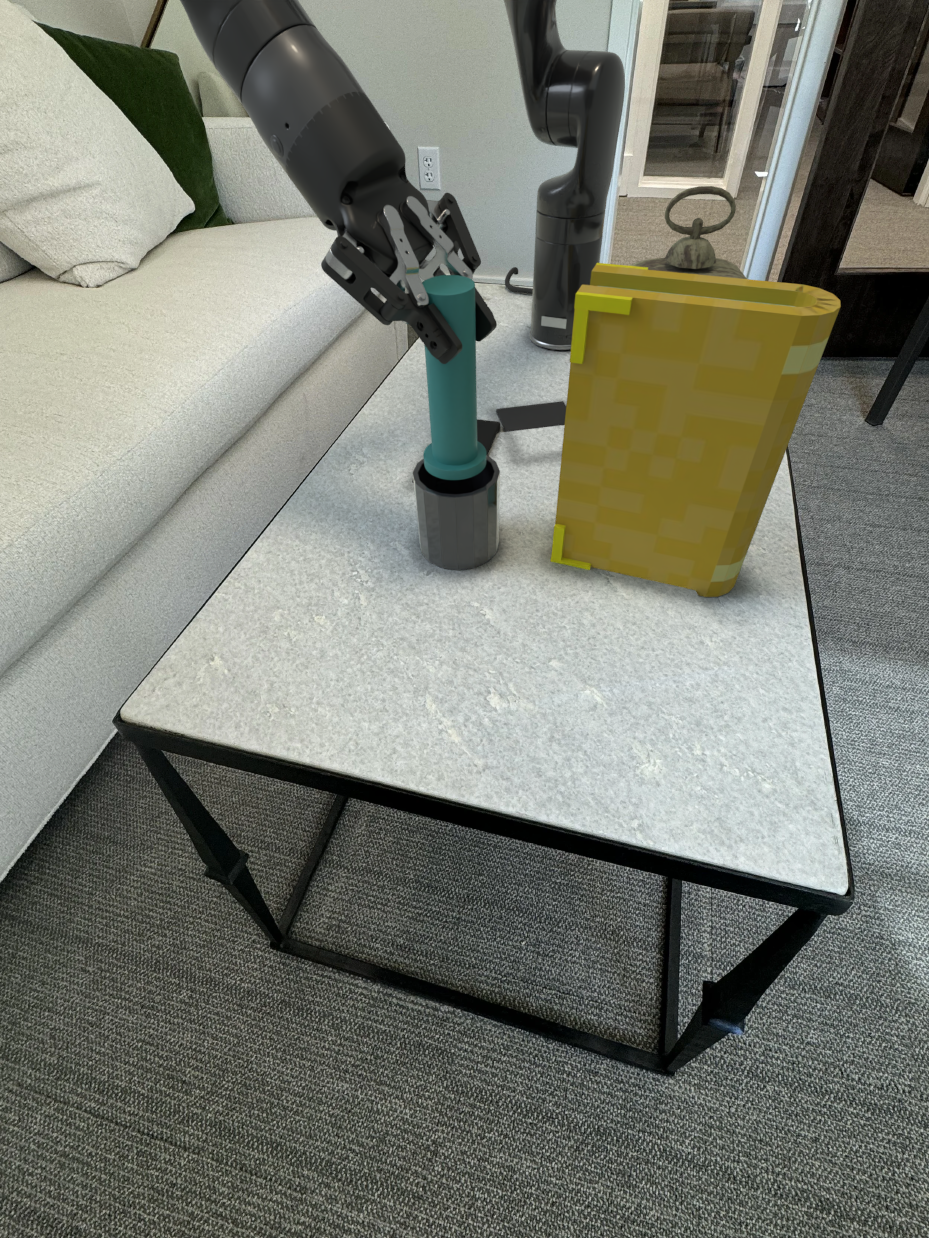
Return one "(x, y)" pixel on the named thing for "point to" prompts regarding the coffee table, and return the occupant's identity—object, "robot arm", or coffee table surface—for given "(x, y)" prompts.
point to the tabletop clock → (695, 243)
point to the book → (680, 418)
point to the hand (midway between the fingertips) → (470, 344)
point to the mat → (532, 416)
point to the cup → (458, 517)
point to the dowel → (454, 386)
